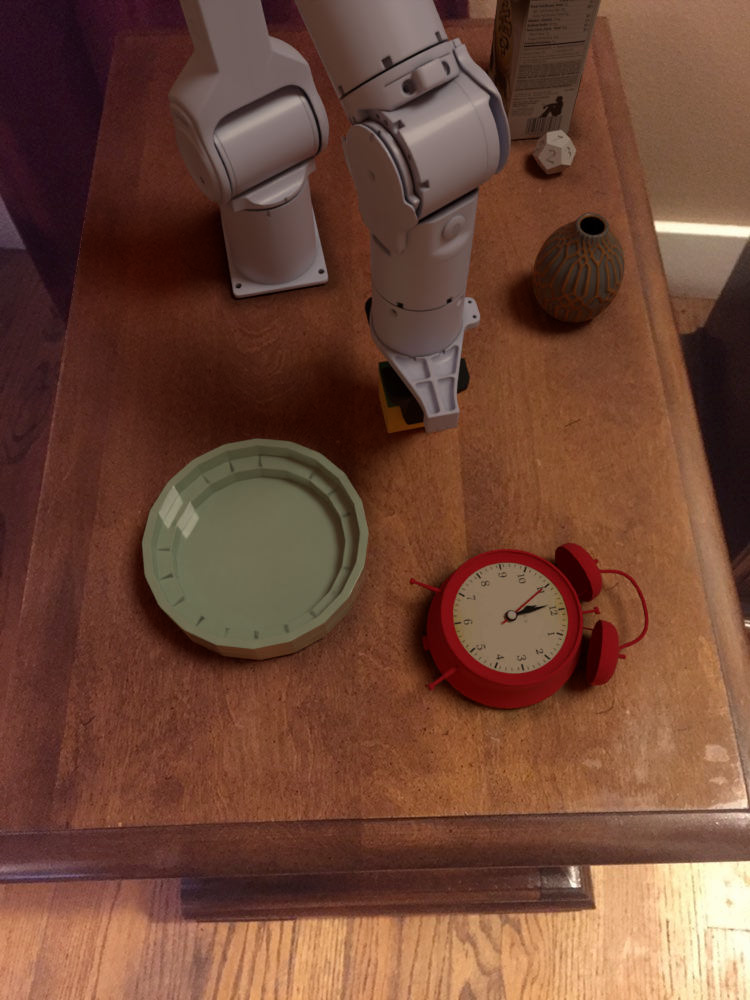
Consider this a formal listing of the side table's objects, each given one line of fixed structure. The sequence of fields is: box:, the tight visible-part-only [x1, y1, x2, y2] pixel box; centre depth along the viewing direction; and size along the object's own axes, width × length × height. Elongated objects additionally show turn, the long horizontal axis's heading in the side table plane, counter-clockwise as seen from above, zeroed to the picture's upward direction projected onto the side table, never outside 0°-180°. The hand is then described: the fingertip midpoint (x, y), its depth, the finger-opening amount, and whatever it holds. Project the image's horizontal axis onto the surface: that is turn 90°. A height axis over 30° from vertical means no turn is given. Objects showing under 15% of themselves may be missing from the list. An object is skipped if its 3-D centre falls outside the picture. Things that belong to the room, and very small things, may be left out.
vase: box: [532, 212, 626, 323], centre depth 63 cm, size 7×7×9 cm
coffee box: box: [487, 0, 602, 141], centre depth 70 cm, size 9×6×16 cm
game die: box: [532, 130, 577, 175], centre depth 73 cm, size 4×4×3 cm
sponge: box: [377, 360, 425, 434], centre depth 60 cm, size 5×3×4 cm
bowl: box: [141, 437, 371, 661], centre depth 57 cm, size 15×15×4 cm
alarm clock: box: [408, 542, 650, 709], centre depth 54 cm, size 10×6×15 cm
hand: (413, 396), depth 60 cm, fingers closed on sponge, 3 cm apart
